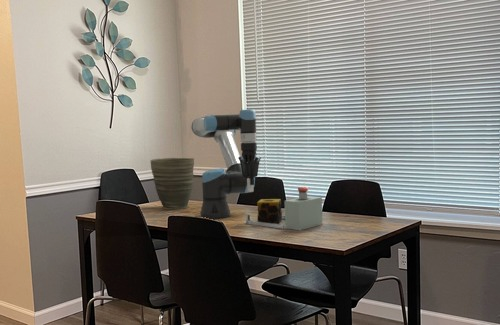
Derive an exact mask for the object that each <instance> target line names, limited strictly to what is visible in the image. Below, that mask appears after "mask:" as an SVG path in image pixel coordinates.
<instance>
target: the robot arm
mask: <svg viewBox="0 0 500 325" xmlns="http://www.w3.org/2000/svg"><path fill="white" fill-rule="evenodd" d="M256 119H257V116H256V110H255V109H241V110H239V113H238V114H217V115H216V114H210V115H204V116H200V117H197V118H195V119H194V120H193V121H192V123H191V126H190V128H191V131H192V133H193V134H194V135H196V136H197V137H199V138H204V139H205V138H206V139H207V138H208V139H209V138H211V139H212V138H213V140H214V141H215V143H218V146H219V149H220V152H221V155H222V158H223V160H224V164H225V166H226V169H225V168H224V167H222V168H213V169H208V170H206V171H204V172H203V173H202V176H201V183H202V185H201V186H202V187H201V188H202V204H201V210H200V212H199V214H200V215H199V217H200V218H201V217H206V218H205V219H209V218H211V219H224V218H228V217H231V215H232V214H231V213H232V212H231V209H230V206H229V204H228V200H227V195H233V194H236V195H237V194H247V193H253V192H254V188H255V184H256V183H255V182H256V178H257V177H258V172H259V166H260V161H261V159H262V158H261V157H260V156H258V155H257V150H258V149H257V148H258V146H257V145H258V144H257V123H256V122H257V120H256ZM237 131H239V132H240V135H239V136H240V142H241V143H240V151H241V154H240V152H239V149H238V146H237V143H236V140H235V136H236V135H237V134H236V133H237Z"/></svg>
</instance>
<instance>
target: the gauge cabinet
mask: <svg viewBox="0 0 500 325" xmlns="http://www.w3.org/2000/svg"><path fill="white" fill-rule="evenodd" d="M284 215H285V219H284V225H285V228H284V229H289V230H294V231H295V230H296V231H302V230H306V229H309V228H313V227H317V226H320V225H323V199H322V197H319V196H310V195H307V200H299V197H297V198H292V199H287V200H284Z"/></svg>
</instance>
